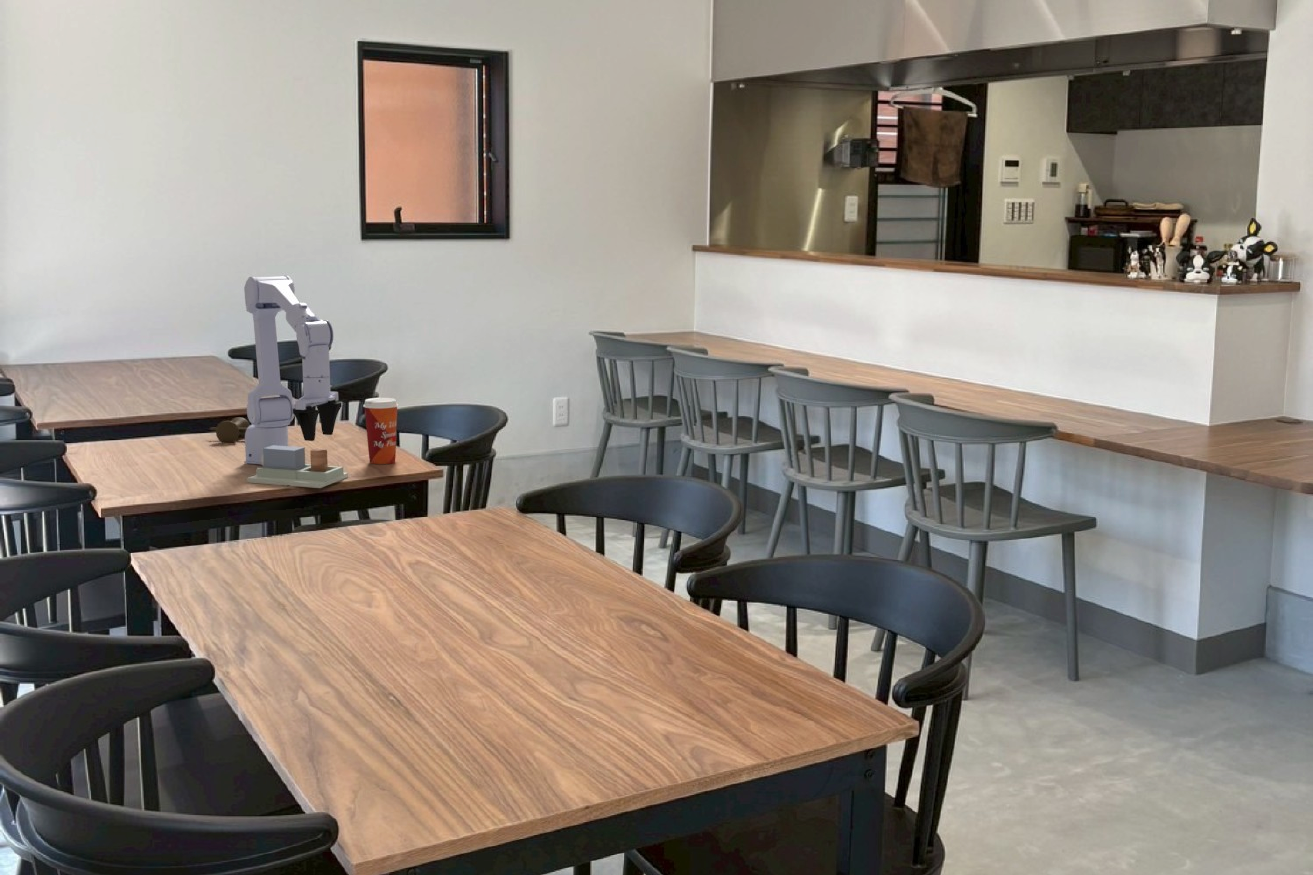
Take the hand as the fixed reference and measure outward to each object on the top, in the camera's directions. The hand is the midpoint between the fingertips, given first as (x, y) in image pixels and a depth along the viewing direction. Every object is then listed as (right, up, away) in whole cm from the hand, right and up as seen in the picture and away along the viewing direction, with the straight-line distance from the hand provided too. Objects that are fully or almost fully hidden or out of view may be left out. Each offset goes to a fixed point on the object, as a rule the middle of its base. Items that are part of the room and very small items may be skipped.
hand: (318, 437), depth 282 cm
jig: (-5, -9, +3) cm, 11 cm away
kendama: (-31, -1, +50) cm, 59 cm away
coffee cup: (+9, -6, +24) cm, 26 cm away
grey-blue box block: (-9, -8, +4) cm, 13 cm away
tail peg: (0, -9, +2) cm, 9 cm away
